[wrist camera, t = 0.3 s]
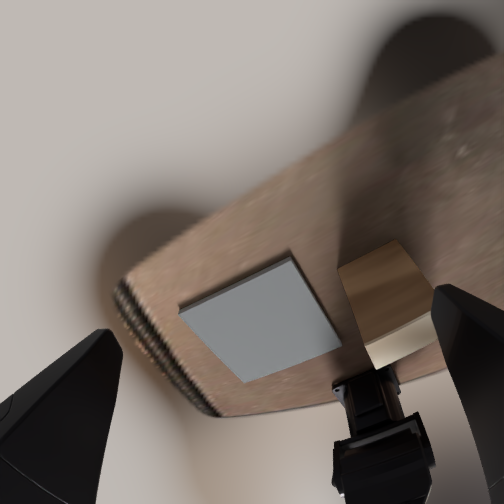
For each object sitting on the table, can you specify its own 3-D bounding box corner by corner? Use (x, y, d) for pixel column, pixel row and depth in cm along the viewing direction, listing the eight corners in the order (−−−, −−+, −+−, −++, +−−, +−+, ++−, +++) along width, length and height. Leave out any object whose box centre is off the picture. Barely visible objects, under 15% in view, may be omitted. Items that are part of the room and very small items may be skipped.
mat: (340, 341, 26) (342, 345, 26) (244, 378, 29) (244, 383, 28) (290, 256, 22) (291, 260, 22) (179, 310, 25) (178, 314, 24)
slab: (404, 263, 22) (449, 332, 15) (348, 292, 24) (376, 369, 17) (395, 238, 21) (445, 305, 14) (336, 268, 23) (365, 346, 16)
